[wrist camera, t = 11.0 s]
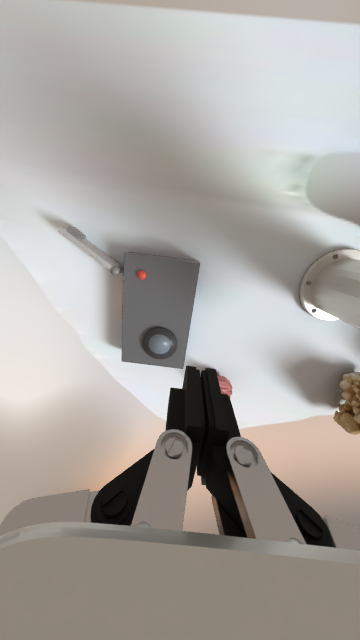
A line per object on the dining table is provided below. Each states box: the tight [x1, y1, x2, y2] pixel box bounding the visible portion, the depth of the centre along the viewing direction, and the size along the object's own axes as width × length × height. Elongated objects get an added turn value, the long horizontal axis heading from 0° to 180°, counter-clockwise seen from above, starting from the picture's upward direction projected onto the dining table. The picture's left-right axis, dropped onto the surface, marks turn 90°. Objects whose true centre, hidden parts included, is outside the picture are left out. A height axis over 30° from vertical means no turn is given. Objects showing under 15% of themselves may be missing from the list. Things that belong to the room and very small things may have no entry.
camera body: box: [122, 252, 200, 369], centre depth 36 cm, size 12×20×4 cm, turn 173°
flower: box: [217, 375, 232, 397], centre depth 41 cm, size 8×8×6 cm
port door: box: [58, 227, 124, 275], centre depth 33 cm, size 2×11×4 cm, turn 51°
